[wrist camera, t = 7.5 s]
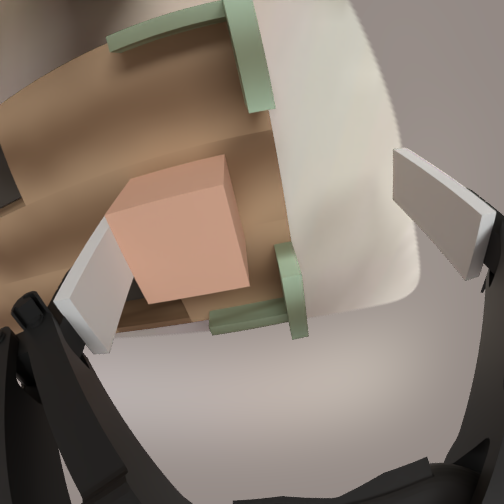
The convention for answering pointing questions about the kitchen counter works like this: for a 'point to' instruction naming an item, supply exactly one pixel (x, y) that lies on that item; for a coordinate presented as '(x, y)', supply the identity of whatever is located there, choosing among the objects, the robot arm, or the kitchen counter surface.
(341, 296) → the kitchen counter surface
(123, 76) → the tray
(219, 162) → the block
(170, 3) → the kitchen counter surface
